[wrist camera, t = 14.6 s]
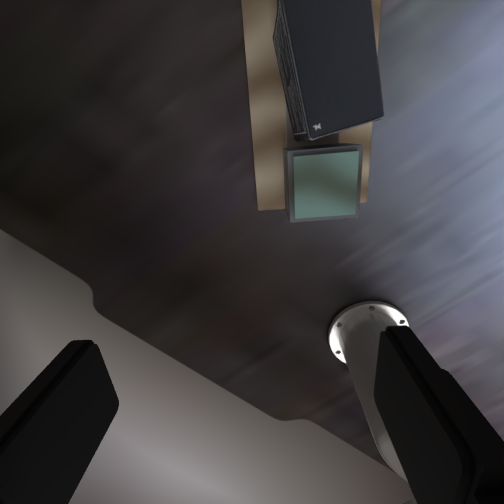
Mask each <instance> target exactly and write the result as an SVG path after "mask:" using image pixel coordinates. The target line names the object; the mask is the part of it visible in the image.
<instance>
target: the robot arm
mask: <svg viewBox="0 0 504 504" xmlns="http://www.w3.org/2000/svg"><path fill="white" fill-rule="evenodd" d="M328 342H329V345H330V348H331V350H332V352H333V353H334V355H335V356H336V357H337V358H338V359H340V360H341V361H342V362H344V363H346V364H347V366H348V369H349V372H350V375H351V377H352V380H353V383H354V386H355V390H356V391H357V394H358V396H359V399H360V402H361V405H362V407H363V410H364V413H365V416H366V418H367V421H368V424H369V427H370V429H371V432H372V435H373V438H374V440H375V443H376V445H377V448H378V450H379V452H380V454H381V455H382V457H383V458H384V460H385V461H386V462H387V464H388V465H389V466H390V467H391V468H392V469H393V470H394V471H395V472H396V473H397V474H399V475H400V476H401V477H402V478H404V479H405V480H406V481H408V483H409V485H410V488H411V490H412V492H413V495H414V497H415V498H414V499H412V500H409V501H407V503H404V504H504V441H503V440H502V439H501V437H500V436H499V435H498V434H497V432H496V431H495V430H494V428H493V427H492V426H491V425H490V423H489V422H488V421H487V420H486V418H485V417H484V416H483V414H482V413H481V412H480V411H479V409H478V408H477V407H476V406H475V404H474V403H473V402H472V400H471V399H470V398H469V397H468V395H467V394H466V393H465V392H464V390H463V389H462V388H461V387H460V385H459V384H458V383H457V381H456V380H455V379H454V378H453V376H452V375H451V374H450V373H449V372H448V371H446V370H444V369H441V368H440V367H439V365H438V364H437V363H436V361H435V360H434V359H433V357H432V356H431V355H430V354H429V352H428V351H427V350H426V348H425V347H424V346H423V344H422V343H421V342H420V340H419V339H418V338H417V337H416V335H415V334H414V333H413V331H412V330H411V329H410V327H409V323H408V321H407V319H406V317H405V316H404V315H403V313H402V312H401V311H400V310H399V309H397V308H396V307H394V306H393V305H391V304H388V303H385V302H381V301H364V302H359V303H356V304H353V305H351V306H349V307H347V308H345V309H344V310H343V311H341V312H340V313H339V314H338V315H337V316H336V317H335V318H334V320H333V321H332V323H331V325H330V327H329V331H328ZM118 407H119V400H118V397H117V394H116V392H115V389H114V386H113V384H112V381H111V378H110V376H109V373H108V371H107V368H106V365H105V363H104V360H103V357H102V355H101V352H100V349H99V347H98V345H97V344H94V342H93V341H92V340H74V341H71V342H70V343H68V345H67V346H66V347H65V348H64V349H63V350H62V351H61V352H60V353H59V354H58V355H57V356H56V357H55V358H54V359H53V360H52V361H51V363H50V364H49V365H48V366H47V367H46V368H45V369H44V370H43V371H42V372H41V373H40V374H39V375H38V376H37V377H36V378H35V380H34V381H33V382H32V383H31V384H30V385H29V386H28V387H27V388H26V389H25V390H24V391H23V392H22V393H21V394H20V395H19V397H18V398H17V399H16V400H15V401H14V402H13V403H12V404H11V405H10V406H9V407H8V408H7V409H6V410H5V411H4V413H3V414H2V415H1V416H0V504H68V503H69V501H70V499H71V497H72V496H73V494H74V492H75V490H76V488H77V486H78V484H79V482H80V480H81V479H82V477H83V475H84V473H85V471H86V469H87V467H88V465H89V464H90V462H91V460H92V458H93V456H94V454H95V452H96V450H97V449H98V447H99V445H100V443H101V441H102V439H103V437H104V435H105V433H106V432H107V430H108V428H109V426H110V424H111V422H112V420H113V418H114V416H115V415H116V413H117V410H118Z"/></svg>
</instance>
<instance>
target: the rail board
mask: <svg viewBox="0 0 504 504" xmlns="http://www.w3.org/2000/svg"><path fill="white" fill-rule="evenodd" d="M241 3H242V15H243V27H244V40H245V52H246V65H247V77H248V90H249V102H250V115H251V127H252V140H253V152H254V165H255V177H256V189H257V202H258V211H262V210H275V209H286V211H287V214H288V218H289V221H290V223H293V222H307V221H321V220H334V219H348V218H359V210H360V203H367V192H368V178H369V165H370V151H371V137H372V123H373V122H370V123H367V124H363V125H360V126H357V127H354V128H350V129H347V130H343V131H341V132H338V133H334V134H331V135H328V136H324V137H321V138H318V139H315V140H313V141H311V140H299V141H296V140H295V139H294V135H293V131H292V126H291V122H290V118H289V113H288V109H287V105H286V99H285V95H284V90H283V85H282V80H281V76H280V71H279V66H278V62H277V57H276V53H275V48H274V43H273V33H274V28H275V21H276V15H277V8H278V0H241ZM372 9H373V19H374V28H375V38H376V47H377V54H378V40H379V26H380V12H381V0H372Z"/></svg>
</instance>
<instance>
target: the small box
mask: <svg viewBox="0 0 504 504" xmlns="http://www.w3.org/2000/svg"><path fill="white" fill-rule="evenodd" d="M273 43H274V48H275V53H276V57H277V62H278V66H279V71H280V76H281V80H282V85H283V90H284V95H285V99H286V105H287V109H288V113H289V118H290V122H291V126H292V131H293V135H294V139H295V140H296V141H299V140H311V141H313V140H315V139H318V138H321V137H324V136H328V135H331V134H334V133H338V132H341V131H343V130H347V129H350V128H354V127H357V126H360V125H363V124H367V123H370V122H373V121H377V120H379V119H382V118H383V117H384V111H383V101H382V92H381V83H380V75H379V65H378V56H377V47H376V38H375V28H374V19H373V9H372V0H278V8H277V15H276V21H275V28H274V33H273Z"/></svg>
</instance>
